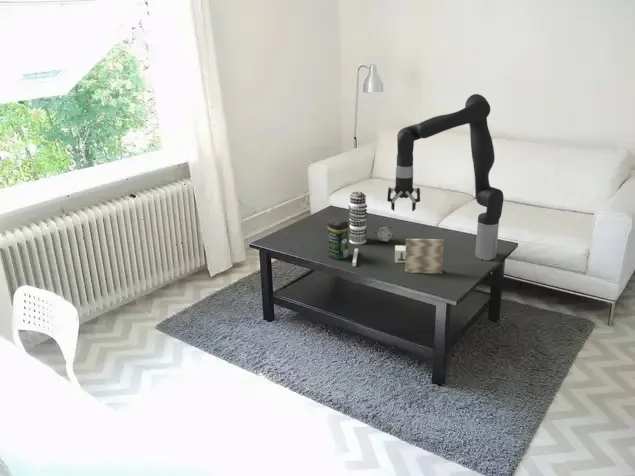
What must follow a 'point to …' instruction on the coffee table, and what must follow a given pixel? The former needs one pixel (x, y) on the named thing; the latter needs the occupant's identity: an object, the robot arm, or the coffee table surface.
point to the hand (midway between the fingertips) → (403, 210)
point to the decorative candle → (357, 218)
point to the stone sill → (355, 257)
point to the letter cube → (400, 254)
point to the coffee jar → (337, 238)
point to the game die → (384, 234)
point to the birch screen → (424, 255)
